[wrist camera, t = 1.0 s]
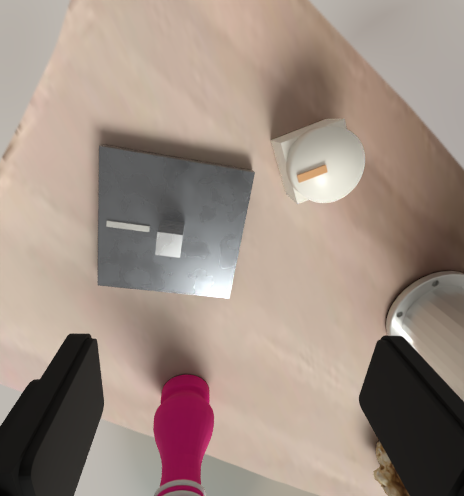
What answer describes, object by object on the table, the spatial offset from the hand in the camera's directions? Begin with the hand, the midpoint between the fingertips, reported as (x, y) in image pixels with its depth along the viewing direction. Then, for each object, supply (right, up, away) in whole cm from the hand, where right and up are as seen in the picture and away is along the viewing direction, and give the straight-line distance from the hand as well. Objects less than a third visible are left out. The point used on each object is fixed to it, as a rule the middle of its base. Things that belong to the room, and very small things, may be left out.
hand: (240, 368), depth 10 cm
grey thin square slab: (-6, +6, +21) cm, 23 cm away
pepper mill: (-7, -15, +31) cm, 35 cm away
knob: (+7, +13, +20) cm, 25 cm away
